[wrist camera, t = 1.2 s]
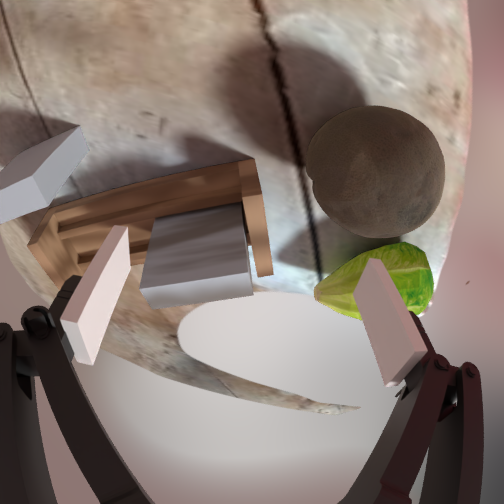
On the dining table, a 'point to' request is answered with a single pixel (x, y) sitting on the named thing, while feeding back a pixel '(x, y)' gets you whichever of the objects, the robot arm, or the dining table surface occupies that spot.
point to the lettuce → (399, 268)
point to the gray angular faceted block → (39, 173)
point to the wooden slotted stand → (168, 234)
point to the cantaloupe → (376, 171)
